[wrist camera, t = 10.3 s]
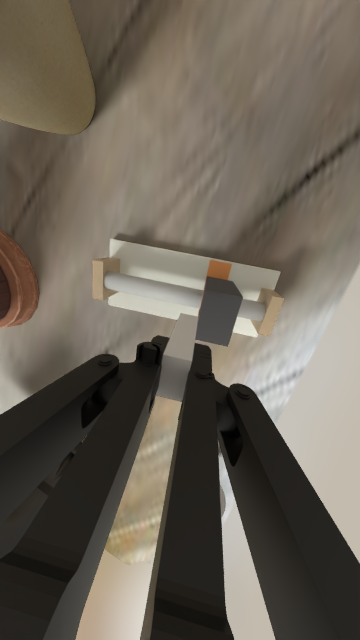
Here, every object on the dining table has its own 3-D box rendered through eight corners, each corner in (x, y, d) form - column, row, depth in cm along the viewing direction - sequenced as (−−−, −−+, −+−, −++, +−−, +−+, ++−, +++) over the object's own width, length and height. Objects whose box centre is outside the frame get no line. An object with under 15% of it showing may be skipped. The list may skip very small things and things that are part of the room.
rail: (111, 303, 32) (90, 314, 26) (113, 238, 28) (89, 237, 23) (255, 334, 30) (264, 354, 25) (278, 270, 26) (296, 277, 21)
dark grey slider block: (198, 312, 28) (193, 338, 20) (206, 276, 26) (205, 289, 18) (222, 317, 28) (227, 346, 20) (233, 281, 26) (243, 297, 18)
